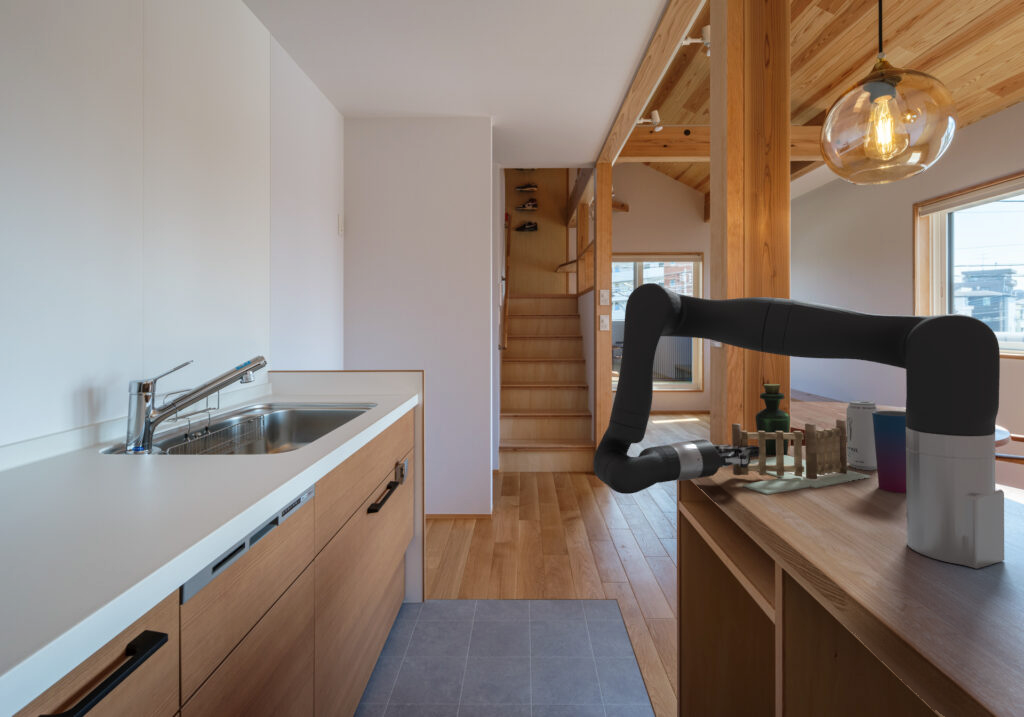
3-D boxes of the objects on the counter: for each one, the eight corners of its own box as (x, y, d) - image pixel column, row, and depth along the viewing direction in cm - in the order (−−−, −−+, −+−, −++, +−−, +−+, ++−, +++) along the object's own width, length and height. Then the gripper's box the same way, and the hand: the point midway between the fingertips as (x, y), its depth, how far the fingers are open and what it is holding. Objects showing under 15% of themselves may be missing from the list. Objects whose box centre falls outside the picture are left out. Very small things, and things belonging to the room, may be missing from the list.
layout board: (870, 477, 102) (870, 475, 102) (771, 496, 93) (771, 493, 93) (785, 456, 122) (785, 454, 122) (696, 470, 113) (696, 468, 113)
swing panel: (802, 474, 103) (801, 423, 103) (805, 476, 102) (804, 425, 101) (732, 472, 107) (731, 423, 106) (733, 475, 105) (732, 425, 105)
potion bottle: (749, 450, 130) (747, 384, 129) (777, 448, 131) (776, 382, 130) (768, 457, 122) (766, 386, 121) (798, 455, 122) (797, 385, 122)
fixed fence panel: (849, 475, 104) (848, 420, 104) (812, 482, 101) (811, 425, 100) (840, 473, 106) (839, 419, 106) (803, 479, 103) (802, 423, 102)
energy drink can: (843, 463, 114) (842, 400, 113) (874, 464, 112) (873, 400, 111) (852, 470, 108) (851, 403, 108) (884, 471, 106) (883, 403, 106)
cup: (925, 494, 91) (925, 415, 90) (884, 494, 92) (883, 415, 91) (904, 484, 97) (903, 410, 97) (866, 483, 99) (865, 410, 98)
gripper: (710, 447, 92) (781, 438, 97) (668, 436, 104) (733, 428, 109) (712, 486, 92) (783, 475, 97) (669, 470, 104) (734, 461, 110)
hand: (756, 450), depth 103 cm, fingers closed
